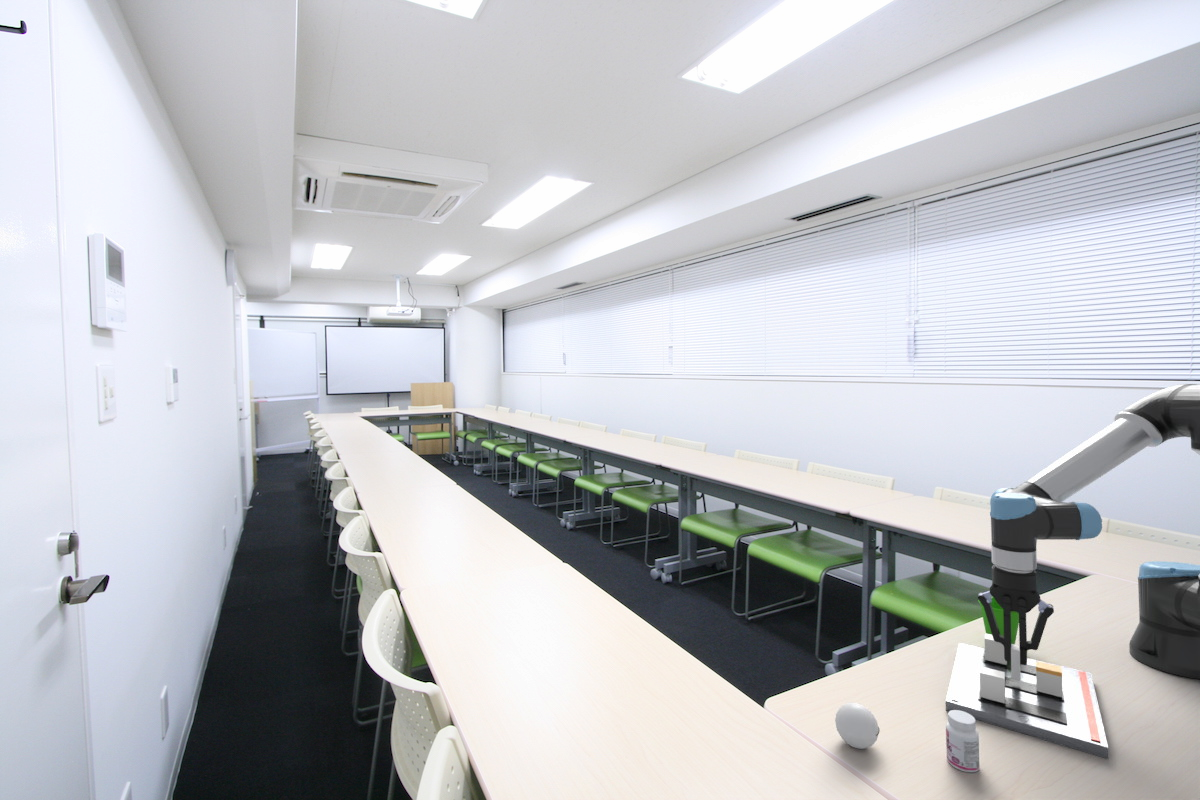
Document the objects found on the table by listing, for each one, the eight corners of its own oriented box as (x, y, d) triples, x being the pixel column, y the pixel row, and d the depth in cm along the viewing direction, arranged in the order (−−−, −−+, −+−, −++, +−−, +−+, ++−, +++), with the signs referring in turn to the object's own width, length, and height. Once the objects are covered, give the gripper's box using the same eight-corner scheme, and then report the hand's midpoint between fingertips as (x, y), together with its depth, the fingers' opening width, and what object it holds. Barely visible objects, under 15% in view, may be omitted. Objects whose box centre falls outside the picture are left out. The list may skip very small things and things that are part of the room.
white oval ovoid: (878, 763, 93) (877, 722, 93) (832, 749, 97) (831, 710, 97) (882, 731, 102) (881, 694, 102) (840, 720, 106) (839, 683, 106)
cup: (1032, 657, 127) (1031, 611, 127) (989, 654, 129) (989, 609, 129) (1011, 639, 136) (1010, 597, 136) (971, 637, 138) (971, 595, 138)
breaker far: (1007, 659, 122) (1006, 637, 122) (1006, 664, 119) (1006, 643, 119) (985, 654, 124) (985, 633, 124) (984, 659, 122) (984, 638, 122)
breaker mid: (1061, 690, 109) (1061, 666, 109) (1062, 697, 107) (1062, 673, 107) (1036, 684, 112) (1036, 660, 111) (1036, 690, 109) (1036, 667, 109)
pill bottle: (940, 755, 95) (938, 709, 95) (964, 753, 95) (963, 707, 95) (960, 774, 90) (959, 726, 90) (986, 772, 91) (985, 723, 90)
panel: (1090, 681, 116) (1090, 671, 116) (1108, 758, 93) (1108, 746, 93) (959, 650, 131) (959, 641, 131) (945, 710, 108) (945, 699, 108)
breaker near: (1005, 696, 108) (1004, 672, 108) (1004, 703, 105) (1004, 678, 105) (981, 689, 110) (980, 666, 110) (980, 696, 108) (979, 672, 108)
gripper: (1053, 567, 111) (1055, 679, 111) (977, 557, 119) (979, 660, 119) (1055, 578, 105) (1057, 695, 105) (975, 566, 113) (977, 675, 114)
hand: (1016, 677), depth 112 cm, fingers closed
